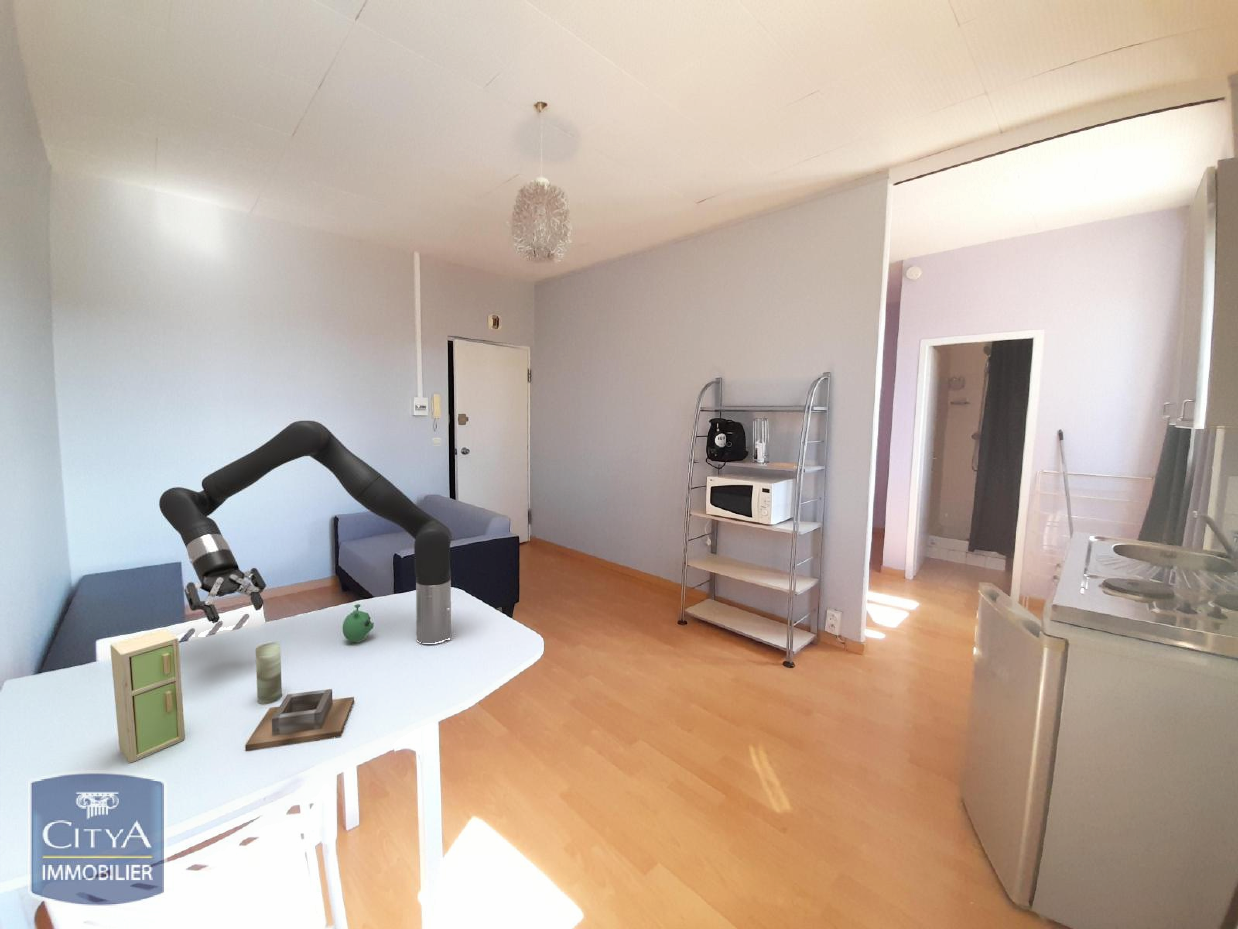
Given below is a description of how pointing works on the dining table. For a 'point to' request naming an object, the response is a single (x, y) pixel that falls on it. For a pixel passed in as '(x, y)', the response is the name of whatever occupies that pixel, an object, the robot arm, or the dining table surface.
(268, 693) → the pale green cylinder
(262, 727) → the jig
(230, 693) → the dining table surface
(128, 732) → the toy refrigerator
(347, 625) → the alien toy
